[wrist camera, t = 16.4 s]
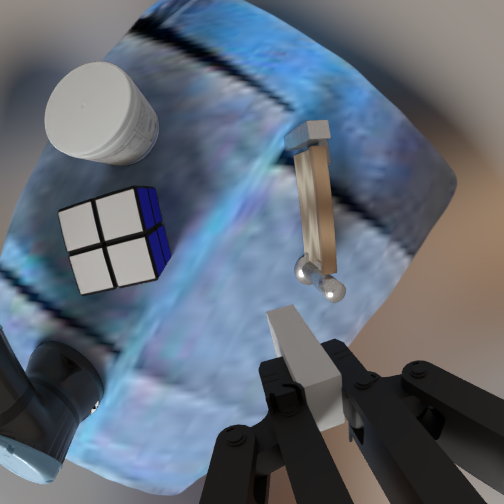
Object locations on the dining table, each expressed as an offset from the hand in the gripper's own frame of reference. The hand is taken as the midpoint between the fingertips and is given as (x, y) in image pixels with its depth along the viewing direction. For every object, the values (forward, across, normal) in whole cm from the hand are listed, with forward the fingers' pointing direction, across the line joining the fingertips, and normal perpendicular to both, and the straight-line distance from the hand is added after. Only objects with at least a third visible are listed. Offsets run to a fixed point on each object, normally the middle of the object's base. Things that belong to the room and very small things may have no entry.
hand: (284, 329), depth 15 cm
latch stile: (+24, +10, +11) cm, 29 cm away
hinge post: (+24, +8, -6) cm, 26 cm away
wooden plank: (+24, +9, +3) cm, 26 cm away
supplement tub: (+25, -11, +19) cm, 33 cm away
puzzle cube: (+25, -14, +6) cm, 29 cm away
